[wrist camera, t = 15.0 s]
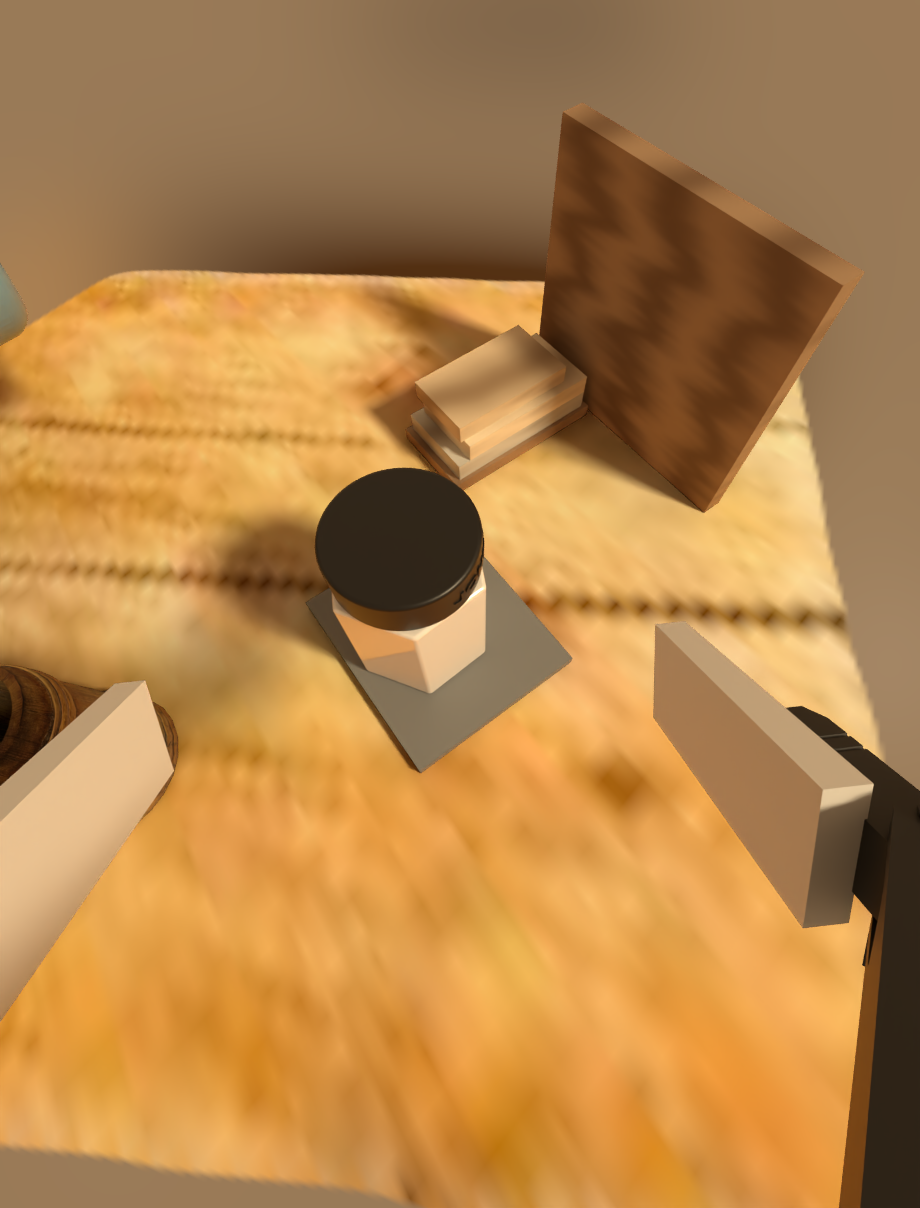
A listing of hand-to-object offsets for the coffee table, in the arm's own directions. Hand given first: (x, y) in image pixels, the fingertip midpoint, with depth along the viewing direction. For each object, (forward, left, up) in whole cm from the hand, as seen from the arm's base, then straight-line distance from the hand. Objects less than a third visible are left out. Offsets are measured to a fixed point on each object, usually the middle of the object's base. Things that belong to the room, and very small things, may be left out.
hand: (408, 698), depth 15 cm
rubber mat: (-9, +5, -21) cm, 24 cm away
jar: (-10, +5, -21) cm, 23 cm away
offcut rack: (-15, +21, -21) cm, 33 cm away
